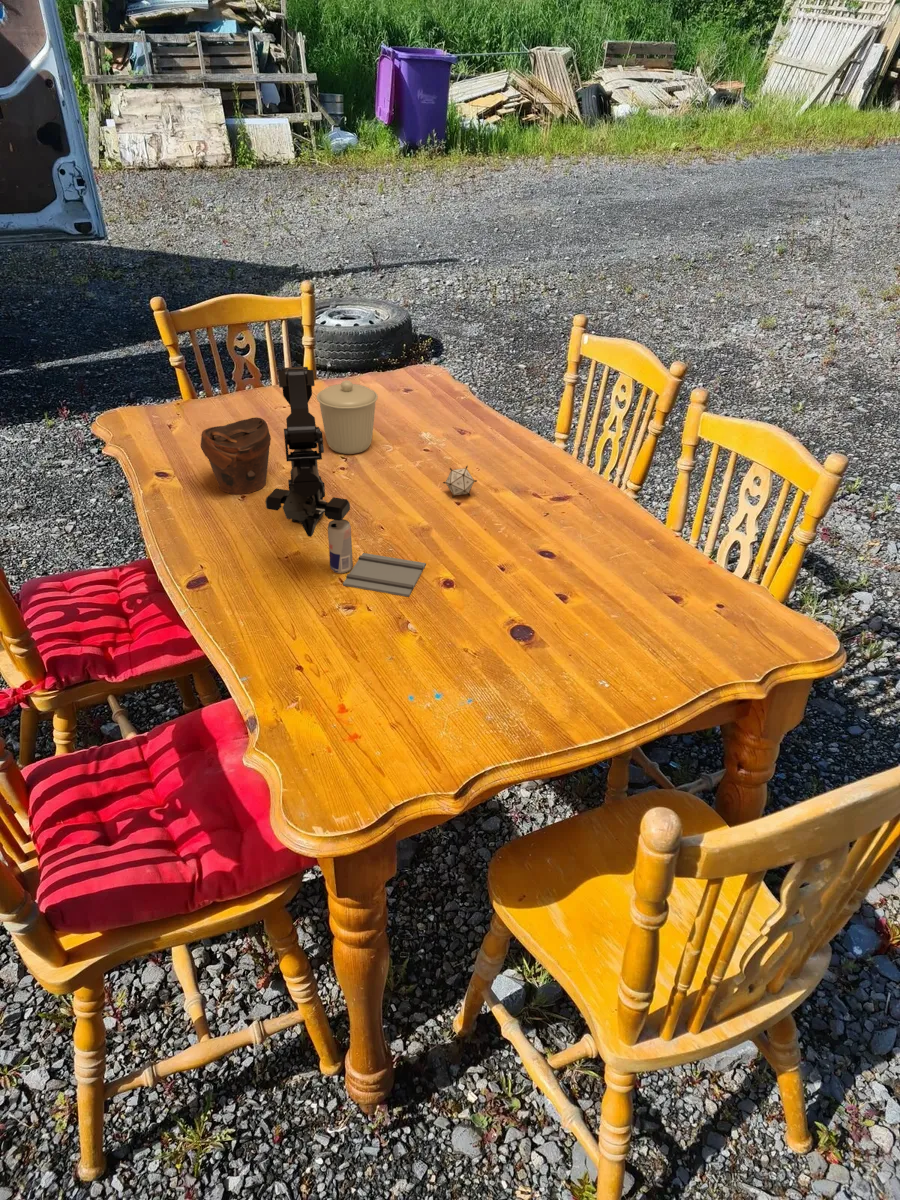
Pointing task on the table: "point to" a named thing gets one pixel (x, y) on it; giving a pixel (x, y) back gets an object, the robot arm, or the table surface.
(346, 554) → the energy drink
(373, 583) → the mat
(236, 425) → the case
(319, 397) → the canister
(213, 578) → the table surface
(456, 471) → the game die
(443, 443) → the table surface
